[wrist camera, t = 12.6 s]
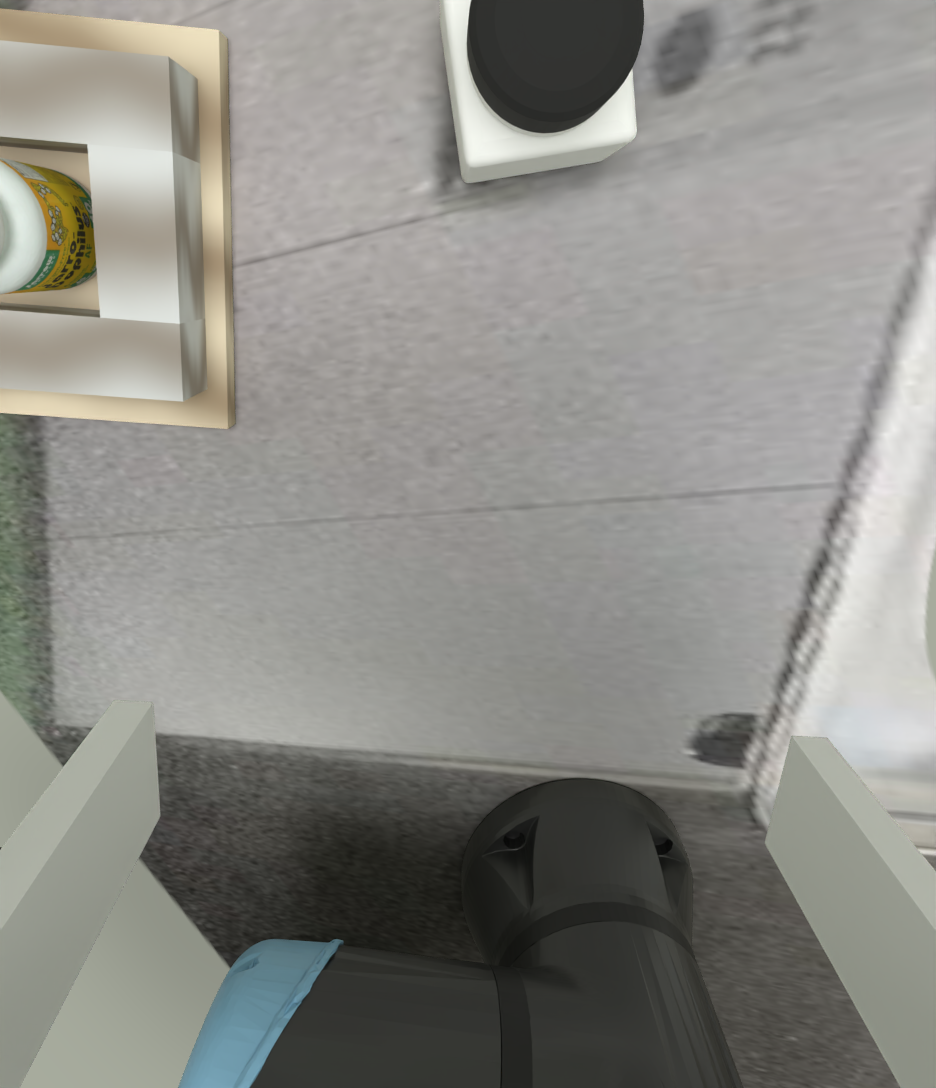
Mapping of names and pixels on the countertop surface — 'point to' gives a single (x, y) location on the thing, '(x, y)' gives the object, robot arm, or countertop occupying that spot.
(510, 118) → the medicine bottle
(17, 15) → the block
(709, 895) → the countertop surface
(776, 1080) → the countertop surface
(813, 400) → the countertop surface
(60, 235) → the supplement bottle
